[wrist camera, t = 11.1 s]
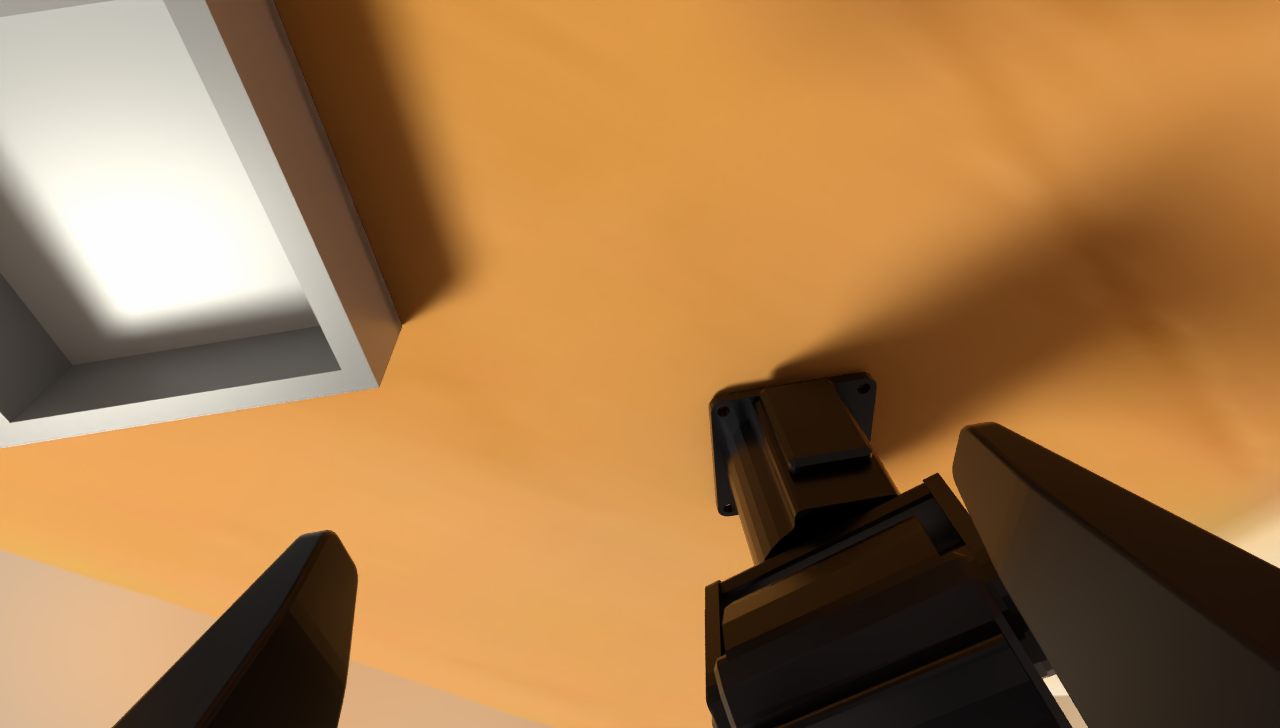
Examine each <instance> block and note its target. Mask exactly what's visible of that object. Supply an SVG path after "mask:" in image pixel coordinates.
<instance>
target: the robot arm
mask: <svg viewBox="0 0 1280 728" xmlns="http://www.w3.org/2000/svg"><path fill="white" fill-rule="evenodd" d="M864 383H865V385H864V386H863V387H860V388H858V387H859V386H860V385H862V384H864ZM876 387H877V386H876V382H875V381H874V379H873V378H872V376H871V375H870V374H868V373H866V372H860V373H854V374H848V375H842V376H836V377H830V378H823V379H817V380H811V381H805V382H799V383H793V384H786V385H780V386H774V387H768V388H762V389H756V390H749V391H743V392H737V393H731V394H725V395H720V396H717V397H715V398H713V399H712V400H711V402H710V403H709V416H710V429H711V443H712V456H713V469H714V483H715V496H716V505H717V509H718V512H719V514H721V515H722V516H734V515H739V517H740V520H741V523H742V527H743V530H744V533H745V536H746V540H747V543H748V546H749V550H750V553H751V556H752V559H753V563H754V566H753V567H751V568H749V569H747V570H745V571H743V572H741V573H739V574H737V575H735V576H733V577H731V578H729V579H727V580H725V581H723V582H721V581H720V580H718V581H716V582H714V583H712V584H710V585H708V586H706V587H705V660H706V702H707V706H708V708H709V710H710V712H711V714H712V725H713V728H1072V726H1071V725H1070V723H1069V721H1068V720H1067V718H1066V717H1065V715H1064V713H1063V712H1062V710H1061V708H1060V707H1059V705H1058V704H1057V702H1056V700H1055V699H1054V697H1053V695H1052V694H1051V692H1050V690H1049V689H1048V687H1047V686H1046V684H1045V682H1044V681H1043V679H1044V678H1046V677H1050V676H1053V675H1055V674H1057V676H1058V678H1059V679H1060V681H1061V683H1062V684H1063V686H1064V688H1065V689H1066V691H1067V693H1068V694H1069V696H1070V698H1071V699H1072V701H1073V703H1074V704H1075V706H1076V708H1077V709H1078V711H1079V713H1080V714H1081V716H1082V718H1083V720H1084V721H1085V723H1086V724H1087V726H1088V728H1280V568H1278V567H1276V566H1274V565H1272V564H1270V563H1268V562H1266V561H1264V560H1262V559H1260V558H1258V557H1256V556H1254V555H1252V554H1250V553H1249V552H1247V551H1245V550H1243V549H1241V548H1239V547H1237V546H1235V545H1233V544H1231V543H1229V542H1227V541H1225V540H1223V539H1221V538H1219V537H1217V536H1216V535H1214V534H1212V533H1210V532H1208V531H1206V530H1204V529H1202V528H1200V527H1198V526H1196V525H1194V524H1192V523H1190V522H1188V521H1186V520H1184V519H1182V518H1181V517H1179V516H1177V515H1175V514H1173V513H1171V512H1169V511H1167V510H1165V509H1163V508H1161V507H1159V506H1157V505H1155V504H1153V503H1151V502H1149V501H1147V500H1146V499H1144V498H1142V497H1140V496H1138V495H1136V494H1134V493H1132V492H1130V491H1128V490H1126V489H1124V488H1122V487H1120V486H1118V485H1116V484H1114V483H1113V482H1111V481H1109V480H1107V479H1105V478H1103V477H1101V476H1099V475H1097V474H1095V473H1093V472H1091V471H1089V470H1087V469H1085V468H1083V467H1081V466H1079V465H1078V464H1076V463H1074V462H1072V461H1070V460H1068V459H1066V458H1064V457H1062V456H1060V455H1058V454H1056V453H1054V452H1052V451H1050V450H1048V449H1046V448H1044V447H1043V446H1041V445H1039V444H1037V443H1035V442H1033V441H1031V440H1029V439H1027V438H1025V437H1023V436H1021V435H1019V434H1017V433H1015V432H1013V431H1011V430H1010V429H1008V428H1006V427H1004V426H1002V425H1000V424H997V423H995V422H984V423H978V424H972V425H967V426H965V427H964V428H963V429H962V430H961V432H960V435H959V439H958V444H957V448H956V453H955V457H954V461H953V467H952V472H953V478H954V481H955V484H956V486H957V488H958V490H959V493H960V495H961V497H962V499H963V501H964V503H965V506H966V508H967V510H968V512H969V513H968V512H967V511H966V509H965V508H964V507H963V505H962V504H961V503H960V501H959V500H958V499H957V497H956V496H955V495H954V493H953V492H952V491H951V489H950V488H949V487H948V485H947V484H946V483H945V481H944V480H943V479H942V477H941V476H940V475H939V473H936V474H934V475H932V476H930V477H928V478H926V479H924V480H923V482H924V483H922V484H920V485H918V486H916V487H914V488H912V489H910V490H908V491H906V492H904V493H902V494H900V492H899V490H898V489H897V487H896V485H895V484H894V482H893V480H892V479H891V477H890V475H889V474H888V472H887V470H886V469H885V467H884V465H883V464H882V462H881V460H880V459H879V457H878V455H877V454H876V452H875V450H874V449H873V447H872V445H871V443H870V438H871V429H872V421H873V412H874V404H875V396H876ZM723 406H726V407H727V408H726V409H724V410H718V409H719V408H720V407H723ZM729 504H731V505H729ZM726 505H728V506H726ZM969 514H970V515H969ZM357 585H358V574H357V569H356V566H355V564H354V562H353V560H352V559H351V557H350V555H349V554H348V552H347V550H346V549H345V547H344V545H343V544H342V542H341V540H340V539H339V537H338V536H337V534H336V533H335V532H333V531H331V530H325V531H319V532H313V533H307V534H304V535H301V536H300V537H299V538H297V539H296V540H295V541H294V542H293V543H292V544H291V545H290V546H289V547H288V548H287V549H286V550H285V551H284V552H283V553H282V554H281V555H280V556H279V558H278V559H277V560H276V561H275V562H274V563H273V564H272V565H271V566H270V567H269V568H268V569H267V570H266V571H265V572H264V573H263V574H262V575H261V576H260V577H259V578H258V579H257V580H256V581H255V582H254V583H253V584H252V585H251V586H250V587H249V588H248V589H247V590H246V591H245V592H244V593H243V594H242V595H241V596H240V597H239V598H238V599H237V600H236V601H235V602H234V603H233V604H232V605H231V607H230V608H229V609H228V610H227V611H226V612H225V613H224V614H223V615H222V616H221V617H220V618H219V619H218V620H217V621H216V622H215V623H214V624H213V625H212V626H211V627H210V628H209V629H208V630H207V631H206V632H205V633H204V634H203V635H202V636H201V637H200V638H199V639H198V640H197V641H196V642H195V643H194V644H193V645H192V646H191V647H190V648H189V650H188V651H186V652H185V653H184V655H183V656H182V657H181V658H180V659H179V660H178V661H177V662H176V663H175V664H174V665H173V666H172V667H171V668H170V669H169V670H168V671H167V672H166V673H165V674H164V675H163V676H162V677H161V678H160V679H159V680H158V681H157V682H156V683H155V684H154V685H153V686H152V687H151V688H150V689H149V690H148V691H147V692H146V693H145V694H144V695H143V696H142V697H141V698H140V700H138V702H137V703H136V704H135V705H134V706H133V707H132V708H131V709H130V710H129V711H128V712H127V713H126V714H125V715H124V716H123V717H122V718H121V719H120V720H119V721H118V722H117V723H116V724H115V725H114V726H113V727H112V728H337V727H338V722H339V718H340V713H341V709H342V704H343V699H344V694H345V689H346V682H347V675H348V668H349V659H350V649H351V640H352V631H353V622H354V613H355V604H356V594H357Z"/></svg>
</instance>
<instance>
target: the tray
mask: <svg viewBox="0 0 1280 728" xmlns="http://www.w3.org/2000/svg"><path fill="white" fill-rule="evenodd" d="M401 328H402V324H401V321H400V319H399V316H398V314H397V311H396V309H395V306H394V304H393V301H392V298H391V296H390V293H389V291H388V288H387V286H386V283H385V281H384V278H383V276H382V273H381V271H380V268H379V266H378V263H377V261H376V258H375V256H374V253H373V250H372V248H371V245H370V243H369V240H368V238H367V235H366V233H365V230H364V228H363V225H362V223H361V220H360V218H359V215H358V213H357V210H356V207H355V205H354V202H353V200H352V197H351V195H350V192H349V190H348V187H347V185H346V182H345V180H344V177H343V175H342V172H341V170H340V167H339V164H338V162H337V159H336V157H335V154H334V152H333V149H332V147H331V144H330V142H329V139H328V137H327V134H326V132H325V129H324V127H323V124H322V122H321V119H320V116H319V114H318V111H317V109H316V106H315V104H314V101H313V99H312V96H311V94H310V91H309V89H308V86H307V84H306V81H305V79H304V76H303V73H302V71H301V68H300V66H299V63H298V61H297V58H296V56H295V53H294V51H293V48H292V46H291V43H290V41H289V38H288V36H287V33H286V30H285V28H284V25H283V23H282V20H281V18H280V15H279V13H278V10H277V8H276V5H275V3H274V0H0V447H1V448H5V447H11V446H17V445H24V444H30V443H36V442H42V441H49V440H55V439H61V438H67V437H74V436H80V435H86V434H92V433H98V432H105V431H111V430H117V429H123V428H130V427H136V426H142V425H148V424H155V423H161V422H167V421H173V420H180V419H186V418H192V417H198V416H205V415H211V414H217V413H223V412H229V411H236V410H242V409H248V408H254V407H261V406H267V405H273V404H279V403H286V402H292V401H298V400H304V399H311V398H317V397H323V396H329V395H336V394H342V393H348V392H354V391H360V390H367V389H373V388H379V387H380V384H381V381H382V379H383V376H384V373H385V371H386V368H387V365H388V363H389V360H390V357H391V355H392V352H393V349H394V347H395V344H396V341H397V339H398V336H399V333H400V331H401Z"/></svg>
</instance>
